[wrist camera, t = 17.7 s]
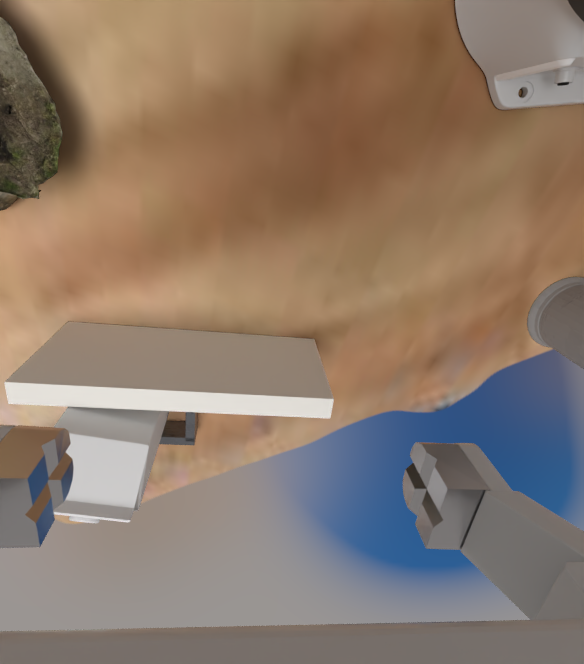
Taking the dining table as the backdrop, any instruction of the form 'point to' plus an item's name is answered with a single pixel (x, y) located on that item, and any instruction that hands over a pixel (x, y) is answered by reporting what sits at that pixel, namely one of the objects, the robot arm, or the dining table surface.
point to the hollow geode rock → (24, 124)
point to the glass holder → (560, 318)
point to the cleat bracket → (181, 431)
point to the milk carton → (109, 460)
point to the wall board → (174, 372)
